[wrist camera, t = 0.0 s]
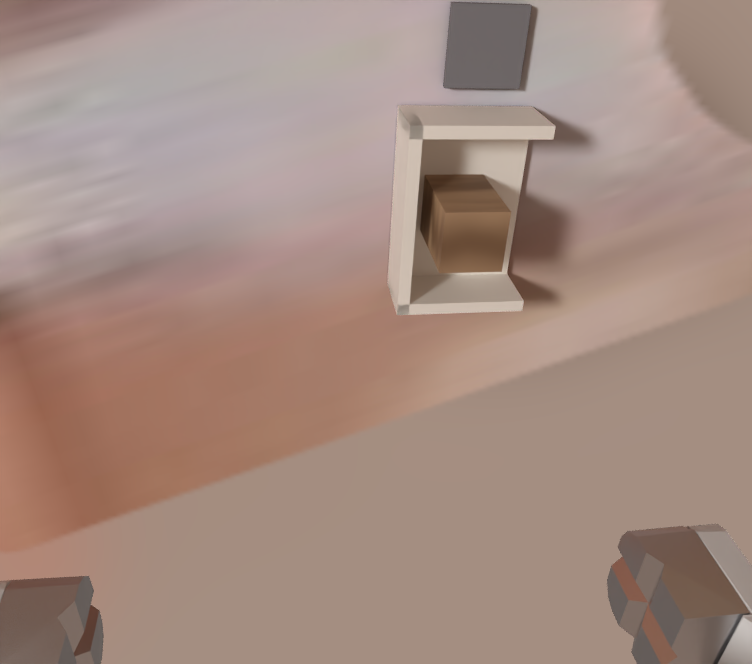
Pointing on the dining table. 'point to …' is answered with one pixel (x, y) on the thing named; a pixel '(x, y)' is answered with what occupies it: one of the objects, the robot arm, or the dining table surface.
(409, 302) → the box
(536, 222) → the dining table surface
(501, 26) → the coaster
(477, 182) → the block
